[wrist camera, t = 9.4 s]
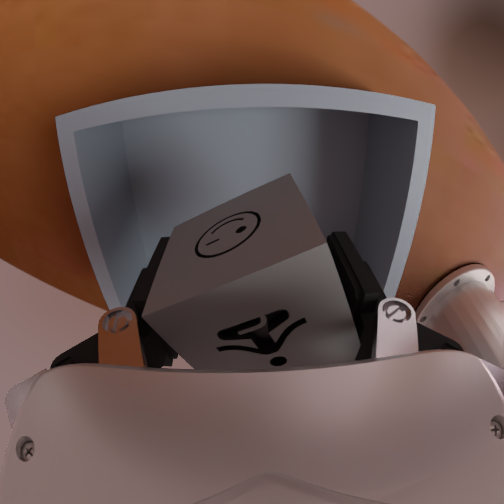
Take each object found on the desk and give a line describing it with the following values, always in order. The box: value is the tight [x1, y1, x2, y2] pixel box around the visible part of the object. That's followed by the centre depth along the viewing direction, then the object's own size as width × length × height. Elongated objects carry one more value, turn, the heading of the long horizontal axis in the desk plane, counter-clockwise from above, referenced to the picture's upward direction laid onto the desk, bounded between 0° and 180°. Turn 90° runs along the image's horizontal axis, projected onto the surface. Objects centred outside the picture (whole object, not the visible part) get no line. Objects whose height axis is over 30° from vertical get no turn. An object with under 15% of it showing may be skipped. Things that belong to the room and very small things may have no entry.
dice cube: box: [141, 173, 361, 370], centre depth 10 cm, size 5×5×5 cm
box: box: [55, 84, 436, 310], centre depth 17 cm, size 18×14×7 cm
